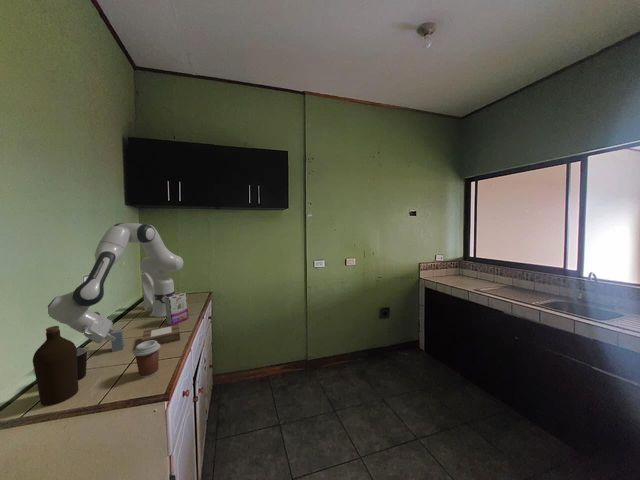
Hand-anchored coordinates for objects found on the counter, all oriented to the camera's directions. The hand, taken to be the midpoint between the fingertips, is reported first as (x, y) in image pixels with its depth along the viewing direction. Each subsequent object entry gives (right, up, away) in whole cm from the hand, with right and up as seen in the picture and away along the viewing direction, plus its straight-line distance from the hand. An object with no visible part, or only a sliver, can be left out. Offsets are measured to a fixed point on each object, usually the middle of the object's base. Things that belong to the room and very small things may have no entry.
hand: (116, 337), depth 123 cm
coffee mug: (0, -8, -22) cm, 23 cm away
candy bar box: (+11, -3, +34) cm, 36 cm away
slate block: (+1, -6, +1) cm, 6 cm away
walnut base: (+16, -5, +10) cm, 19 cm away
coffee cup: (+30, -7, -20) cm, 37 cm away
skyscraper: (-24, -3, +61) cm, 66 cm away
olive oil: (+7, -8, -33) cm, 35 cm away
